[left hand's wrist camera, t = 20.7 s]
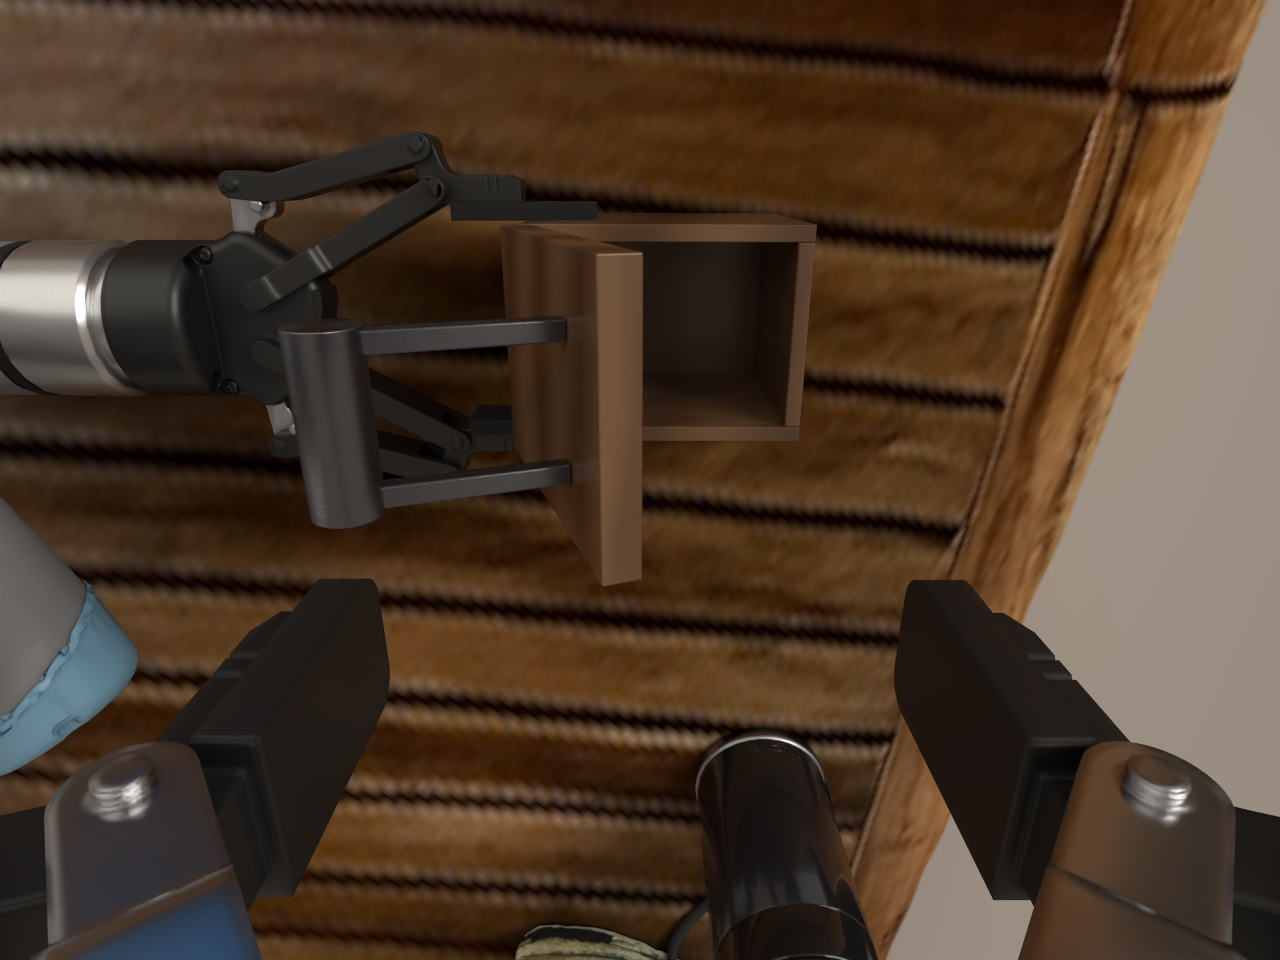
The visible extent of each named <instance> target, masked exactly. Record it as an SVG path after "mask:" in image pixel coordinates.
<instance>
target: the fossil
mask: <svg viewBox="0 0 1280 960" xmlns="http://www.w3.org/2000/svg"><path fill="white" fill-rule="evenodd" d="M515 960H667V954H666V953H665V952H663V951H658V950H655V949H653V948H651V947H650V946H648V945H646V944H645V943H642V942H640V941H637V940H634V939H631V938H628V937H626V936H623V935H620V934H617V933H614V932H611V931H607V930H604V929H599V928H593V927H581V926H562V925H546V926H538V927H536V928H535V929H533V930H531V931H530V932H528V933H527V934H526V935H525V937H524V939H523V940H522V941H521V943H520V944H519V946H518V948H517V950H516V959H515ZM677 960H678V959H677Z"/></svg>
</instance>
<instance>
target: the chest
mask: <svg viewBox="0 0 1280 960" xmlns="http://www.w3.org/2000/svg"><path fill="white" fill-rule="evenodd" d="M529 224H530V225H534V226H538V227H542V228H546V229H550V230H554V231H558V232H562V233H566V234H570V235H574V236H578V237H582V238H587V239H591V240H595V241H599V242H603V243H607V244H611V245H615V246H619V247H623V248H627V249H631V250H635V251H639V252H642V253H643V394H642V441H798V440H799V425H800V415H801V403H802V391H803V379H804V367H805V355H806V344H807V332H808V320H809V308H810V296H811V284H812V273H813V261H814V249H815V243H813V242H815V239H816V228H817V225H815V224H812V223H808V222H804V221H800V220H796V219H793V218H789V217H785V216H781V215H777V214H739V213H598V217H597V218H596V219H595V220H528V221H526V222H523V223H520V224H518V225H529Z"/></svg>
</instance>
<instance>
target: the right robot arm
mask: <svg viewBox="0 0 1280 960" xmlns="http://www.w3.org/2000/svg"><path fill="white" fill-rule="evenodd" d="M411 168H415V171H416V173H417V175H418V178H419V180H420V182H418V183H417V184H415V185H413V186H412V187H410V188H409V189H407V190H405V191H404V192H402V193H400V194H399V195H397V196H396V197H394V198H392V199H391V200H389V201H387V202H386V203H384V204H383V205H381V206H379V207H378V208H376V209H374V210H373V211H371V212H370V213H368V214H366V215H365V216H363V217H361V218H360V219H358V220H357V221H355V222H353V223H352V224H350V225H348V226H347V227H345V228H344V229H342V230H340V231H339V232H337V233H335V234H334V235H332V236H331V237H329V238H327V239H326V240H324V241H323V242H321V243H319V244H317V245H316V246H313V247H311V248H309V249H307V250H305V251H303V252H302V253H300V254H297V253H295V252H294V251H292V250H291V249H289V248H288V247H286V246H285V245H283V244H282V243H280V242H279V241H277V240H276V239H274V238H273V237H271V236H270V235H268V234H267V233H265V232H264V226H265V223H266V222H267V221H268V220H270V219H272V218H277V217H279V216H281V215H282V214H283V212H284V201H293V200H303V199H307V198H311V197H315V196H318V195H322V194H325V193H329V192H332V191H335V190H339V189H342V188H346V187H349V186H353V185H356V184H360V183H363V182H366V181H370V180H373V179H377V178H380V177H384V176H387V175H391V174H394V173H398V172H401V171H404V170H408V169H411ZM217 184H218V187H219V190H220V191H221V193H222V194H223V195H225V196H226V197H228V198H231V207H232V217H233V227H234V231H233V232H231V233H229V234H227V235H226V236H224V237H223V238H221V239H219V240H137V241H133V242H131V243H128V242H125V241H122V240H34V241H18V242H0V395H96V396H142V395H146V394H150V393H151V394H154V395H159V396H244V397H248V398H251V399H253V400H255V401H257V402H259V403H261V404H264V405H266V406H267V410H268V413H269V417H270V420H271V424H272V427H273V431H274V435H273V436H272V437H271V438H270V439H269V440H268V442H267V448H268V450H269V452H270V453H271V454H272V455H274V456H276V457H280V458H285V457H296V456H299V450H298V445H297V439H296V433H295V428H294V422H293V416H292V410H291V405H290V399H289V393H288V388H287V382H286V376H285V370H284V365H283V359H282V353H281V348H280V342H279V336H278V327H280V326H282V325H284V324H288V323H292V322H297V321H304V320H314V319H337V317H336V314H337V306H338V296H337V289H336V285H331V282H330V281H329V279H328V278H329V277H331V276H333V275H334V274H336V273H338V272H339V271H341V270H343V269H344V268H346V267H347V266H349V265H350V264H351V263H352V262H354V261H356V260H357V259H359V258H361V257H362V256H364V255H366V254H367V253H369V252H371V251H372V250H374V249H375V248H377V247H379V246H380V245H382V244H384V243H385V242H387V241H389V240H390V239H392V238H394V237H395V236H397V235H399V234H400V233H402V232H404V231H405V230H407V229H409V228H410V227H412V226H414V225H415V224H417V223H419V222H420V221H422V220H423V219H425V218H427V217H428V216H430V215H432V214H433V213H435V212H437V211H438V210H440V209H442V208H443V207H445V206H447V205H448V204H450V207H451V219H452V220H518V221H528V220H595V219H596V218H597V217H598V213H597V202H582V201H526V195H525V180H523V179H521V178H518V177H516V176H511V175H459V174H457V173H455V172H454V171H453V170H452V169H451V168H450V167H449V165H448V163H447V161H446V158H445V156H444V154H443V147H442V144H441V142H440V140H439V139H438V138H437V137H436V136H433V135H430V134H426V133H421V132H417V131H415V132H409V133H405V134H402V135H399V136H395V137H392V138H388V139H385V140H382V141H378V142H375V143H371V144H368V145H365V146H361V147H358V148H354V149H351V150H348V151H344V152H341V153H337V154H334V155H331V156H327V157H324V158H321V159H317V160H314V161H310V162H307V163H304V164H300V165H297V166H293V167H290V168H287V169H283V170H280V171H276V172H273V173H270V172H260V171H235V170H228V171H224V172H222V173H221V174H220V175H219V177H218V182H217ZM368 370H369V377H370V385H371V392H372V400H373V407H374V415H376V416H379V417H381V418H383V419H385V420H387V421H389V422H391V423H393V424H395V425H397V426H399V427H401V428H403V429H405V430H407V431H409V432H411V433H413V434H415V435H417V436H420V437H422V438H424V439H426V440H428V441H430V442H432V443H429V442H424V441H420V440H416V439H412V438H408V437H404V436H400V435H396V434H392V433H388V432H383V431H379V430H377V437H378V445H379V452H380V460H381V467H382V471H383V472H387V473H391V474H396V475H400V476H404V477H413V476H421V475H430V474H438V473H447V472H455V471H464V470H466V469H467V467H468V466H469V463H470V457H471V454H473V453H475V452H480V451H486V452H505V451H507V452H513V451H515V452H517V451H516V449H515V447H514V440H513V424H512V408H511V405H479V406H478V407H477V409H476V410H475V412H474V413H473V414H472V416H471V417H470V418H469V417H467V416H465V415H463V414H461V413H459V412H457V411H455V410H453V409H451V408H449V407H447V406H445V405H443V404H441V403H439V402H436V401H434V400H432V399H430V398H428V397H426V396H424V395H422V394H420V393H418V392H416V391H414V390H412V389H410V388H408V387H406V386H404V385H402V384H400V383H398V382H396V381H394V380H392V379H390V378H388V377H386V376H384V375H382V374H380V373H378V372H376V371H374V370H372V369H370V368H368ZM433 443H434V444H433ZM137 662H138V654H137V651H136V648H135V646H134V644H133V643H132V641H131V640H130V639H129V638H128V636H127V635H126V634H125V632H124V631H123V630H122V628H121V627H120V626H119V625H118V623H117V622H116V621H115V619H114V618H113V617H112V615H111V614H110V613H109V611H108V610H107V609H106V608H105V606H104V605H103V604H102V602H101V601H100V600H99V598H98V597H97V596H96V595H95V592H94V590H93V588H92V586H91V585H89V584H88V583H87V582H86V581H85V580H80V579H79V578H78V577H77V576H76V575H75V574H74V573H73V572H72V571H71V570H70V569H69V568H68V567H67V566H66V565H65V564H64V562H63V561H62V560H61V559H60V558H59V557H58V556H57V555H56V554H55V553H54V552H53V551H52V550H51V549H50V548H49V547H48V546H47V545H46V544H45V543H44V542H43V541H42V539H41V538H40V537H39V536H38V535H37V534H36V533H35V532H34V531H33V530H32V529H31V528H30V527H29V526H28V525H27V524H26V523H25V522H24V521H23V520H22V519H21V518H20V516H19V515H18V514H17V513H16V512H15V511H14V510H13V509H12V508H11V507H10V506H9V505H8V504H7V503H6V502H5V501H4V500H3V499H2V498H1V497H0V776H2V775H5V774H7V773H10V772H12V771H14V770H16V769H18V768H20V767H22V766H24V765H26V764H27V763H29V762H30V761H32V760H34V759H35V758H37V757H39V756H40V755H42V754H43V753H45V752H46V751H48V750H49V749H51V748H52V747H54V746H55V745H57V744H58V743H60V742H61V741H62V740H64V739H65V737H66V736H67V735H69V734H70V733H71V732H72V731H74V730H75V729H76V728H78V727H79V726H81V725H82V724H84V723H86V722H88V721H89V720H90V719H91V718H93V717H94V716H95V715H96V714H97V713H99V712H100V711H101V710H102V709H103V708H104V707H105V706H107V705H108V704H109V703H110V702H111V701H112V700H113V699H114V698H115V697H116V696H117V695H118V694H119V693H120V692H121V691H122V690H123V689H124V687H125V686H126V685H127V683H128V682H129V681H130V679H131V678H132V676H133V675H134V672H135V670H136V667H137Z"/></svg>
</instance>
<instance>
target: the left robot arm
mask: <svg viewBox="0 0 1280 960" xmlns="http://www.w3.org/2000/svg"><path fill="white" fill-rule="evenodd" d="M389 680H390V670H389V661H388V654H387V647H386V640H385V633H384V627H383V620H382V613H381V606H380V599H379V593H378V589H377V586H376V584H375V582H374V581H373V580H372V579H319V580H318V581H317V582H316V583H315V584H314V585H313V586H312V587H311V589H310V590H309V591H308V592H307V594H306V595H305V596H304V597H303V598H302V600H301V601H300V602H299V603H298V605H297V606H296V607H295V608H294V610H293V611H292V612H280V613H278V614H277V615H275V616H273V617H272V618H270V619H269V620H267V621H265V622H264V623H262V624H261V625H259V626H257V627H256V628H254V629H253V630H251V631H250V632H249V633H248V634H247V635H246V636H245V638H244V639H243V640H242V641H241V642H240V643H239V645H238V646H237V647H236V648H235V649H234V650H233V651H232V653H231V654H230V659H226V660H225V661H224V662H223V663H222V664H221V665H220V666H219V668H218V669H217V670H216V671H215V672H214V677H213V678H209V679H208V680H207V681H206V683H205V684H204V685H203V686H202V687H201V688H200V690H199V691H198V692H197V693H196V694H195V695H194V697H193V698H192V699H191V700H190V701H189V702H188V703H187V705H186V706H185V707H184V708H183V709H182V710H181V712H180V713H179V714H178V715H177V716H176V717H175V718H174V720H173V721H172V722H171V723H170V724H169V725H168V727H167V728H166V729H165V730H164V731H163V732H162V733H161V735H160V736H159V737H158V738H157V739H156V740H155V742H148V743H142V744H138V745H133V746H130V747H126V748H123V749H120V750H117V751H115V752H112V753H110V754H107V755H105V756H103V757H101V758H99V759H97V760H95V761H93V762H92V763H90V764H88V765H86V766H85V767H83V768H82V769H80V770H79V771H77V772H76V773H75V774H73V775H72V776H71V777H70V778H68V779H67V780H66V781H65V782H64V783H63V784H62V785H61V786H60V787H59V788H58V789H57V790H56V791H55V792H54V794H53V795H52V797H51V798H50V800H49V802H48V804H47V806H42V807H38V808H33V809H29V810H24V811H20V812H15V813H11V814H6V815H2V816H0V960H262V958H261V955H260V952H259V949H258V945H257V942H256V939H255V936H254V932H253V929H252V926H251V922H250V919H249V916H248V913H247V912H248V910H249V909H250V907H251V905H252V903H253V901H254V899H255V897H293V895H294V893H295V891H296V888H297V886H298V884H299V882H300V880H301V878H302V876H303V874H304V872H305V870H306V868H307V866H308V864H309V862H310V860H311V858H312V855H313V853H314V851H315V849H316V847H317V845H318V843H319V841H320V839H321V837H322V835H323V833H324V831H325V829H326V827H327V825H328V823H329V820H330V818H331V816H332V814H333V812H334V810H335V808H336V806H337V804H338V802H339V800H340V798H341V796H342V794H343V792H344V790H345V788H346V785H347V783H348V781H349V779H350V777H351V775H352V773H353V771H354V769H355V767H356V765H357V763H358V761H359V759H360V757H361V755H362V752H363V750H364V748H365V746H366V744H367V742H368V740H369V738H370V736H371V734H372V732H373V730H374V728H375V726H376V724H377V722H378V720H379V717H380V715H381V713H382V711H383V709H384V707H385V704H386V700H387V696H388V690H389ZM894 684H895V693H896V698H897V702H898V705H899V708H900V711H901V713H902V715H903V717H904V719H905V721H906V723H907V725H908V727H909V729H910V731H911V733H912V735H913V737H914V739H915V741H916V744H917V746H918V748H919V750H920V752H921V754H922V756H923V758H924V760H925V762H926V764H927V766H928V768H929V770H930V772H931V774H932V776H933V778H934V780H935V782H936V784H937V786H938V788H939V790H940V792H941V794H942V796H943V798H944V800H945V803H946V805H947V807H948V809H949V811H950V813H951V815H952V817H953V819H954V821H955V823H956V825H957V827H958V829H959V831H960V833H961V835H962V837H963V839H964V841H965V843H966V845H967V847H968V849H969V851H970V853H971V855H972V857H973V859H974V862H975V864H976V866H977V868H978V870H979V872H980V874H981V876H982V878H983V880H984V882H985V884H986V886H987V888H988V890H989V892H990V894H991V896H992V898H993V900H1031V902H1032V904H1033V906H1034V909H1033V913H1032V916H1031V919H1030V922H1029V926H1028V929H1027V932H1026V936H1025V939H1024V942H1023V945H1022V949H1021V952H1020V955H1019V958H1018V960H1280V817H1277V816H1273V815H1268V814H1264V813H1259V812H1255V811H1250V810H1246V809H1242V808H1238V807H1234V806H1233V804H1232V802H1231V800H1230V798H1229V797H1228V795H1227V794H1226V792H1225V791H1224V790H1223V789H1222V788H1221V787H1220V786H1219V785H1218V784H1217V783H1216V782H1215V781H1214V780H1213V779H1212V778H1210V777H1209V776H1208V775H1207V774H1205V773H1204V772H1203V771H1201V770H1200V769H1198V768H1197V767H1195V766H1194V765H1192V764H1190V763H1188V762H1187V761H1185V760H1183V759H1181V758H1179V757H1177V756H1175V755H1173V754H1170V753H1168V752H1165V751H1163V750H1160V749H1157V748H1154V747H1150V746H1147V745H1142V744H1138V743H1132V742H1130V741H1129V740H1128V739H1127V738H1126V737H1125V735H1124V734H1123V733H1122V732H1121V731H1120V730H1119V729H1118V727H1117V726H1116V725H1115V724H1114V723H1113V722H1112V720H1111V719H1110V718H1109V717H1108V716H1107V715H1106V714H1105V712H1104V711H1103V710H1102V709H1101V708H1100V707H1099V706H1098V704H1097V703H1096V702H1095V701H1094V700H1093V699H1092V698H1091V696H1090V695H1089V694H1088V693H1087V692H1086V691H1085V690H1084V688H1083V687H1082V686H1081V685H1080V684H1079V683H1078V682H1077V681H1076V680H1072V675H1071V674H1070V672H1069V671H1068V670H1067V669H1066V668H1065V667H1064V666H1063V664H1062V663H1061V662H1060V661H1059V660H1055V655H1054V654H1053V653H1052V652H1051V651H1050V650H1049V648H1048V647H1047V646H1046V645H1045V644H1044V643H1043V642H1042V640H1041V639H1040V638H1039V637H1038V636H1037V635H1036V634H1035V633H1034V632H1033V631H1031V630H1030V629H1028V628H1027V627H1025V626H1023V625H1022V624H1020V623H1019V622H1017V621H1015V620H1014V619H1012V618H1011V617H1009V616H1007V615H1006V614H1004V613H992V611H991V610H990V609H989V608H988V606H987V605H986V604H985V603H984V601H983V600H982V599H981V598H980V597H979V595H978V594H977V593H976V592H975V590H974V589H973V588H972V587H971V586H970V584H969V583H968V582H966V581H965V580H913V581H911V582H910V584H909V585H908V587H907V590H906V594H905V600H904V607H903V614H902V621H901V627H900V634H899V641H898V647H897V654H896V661H895V669H894ZM823 770H824V768H823ZM824 775H825V781H826V786H825V782H824V776H823V772H822V769H821V765H820V762H819V760H818V758H817V756H816V754H815V753H814V751H813V750H812V749H811V747H810V746H809V745H808V744H806V743H805V742H804V741H803V740H801V739H800V738H798V737H796V736H794V735H792V734H790V733H787V732H784V731H781V730H776V729H769V728H754V729H747V730H742V731H739V732H736V733H733V734H730V735H728V736H726V737H724V738H722V739H721V740H719V741H718V742H716V743H715V744H714V745H713V746H711V747H710V748H709V749H708V750H707V751H706V753H705V754H704V755H703V757H702V758H701V760H700V762H699V764H698V766H697V769H696V773H695V791H696V798H697V802H698V808H699V818H700V831H701V842H702V852H703V863H704V874H705V884H706V895H707V897H705V898H704V899H703V900H702V901H701V902H700V903H699V904H698V905H697V906H696V907H695V908H694V909H692V910H691V912H690V913H689V914H688V915H687V916H686V917H685V918H684V919H683V920H682V922H681V923H680V924H679V926H678V927H677V929H676V930H675V932H674V934H673V936H672V938H671V940H670V944H669V947H668V954H667V960H677V953H678V949H679V946H680V944H681V942H682V940H683V938H684V937H685V935H686V934H687V932H688V931H689V930H690V928H691V927H692V926H693V925H694V924H695V923H696V922H697V921H698V920H699V919H700V918H701V917H702V916H703V915H704V914H705V913H706V912H707V911H708V916H709V927H710V937H711V948H712V958H713V960H878V957H877V954H876V951H875V947H874V944H873V941H872V938H871V935H870V932H869V928H868V925H867V922H866V918H865V915H864V912H863V909H862V905H861V902H860V899H859V895H858V892H857V889H856V886H855V882H854V879H853V876H852V872H851V869H850V866H849V863H848V859H847V856H846V853H845V849H844V846H843V843H842V840H841V836H840V833H839V830H838V826H837V823H836V820H835V816H834V813H833V807H832V802H831V796H830V790H829V784H828V781H827V778H826V774H825V771H824ZM826 787H827V790H826ZM827 792H828V793H827Z"/></svg>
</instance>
